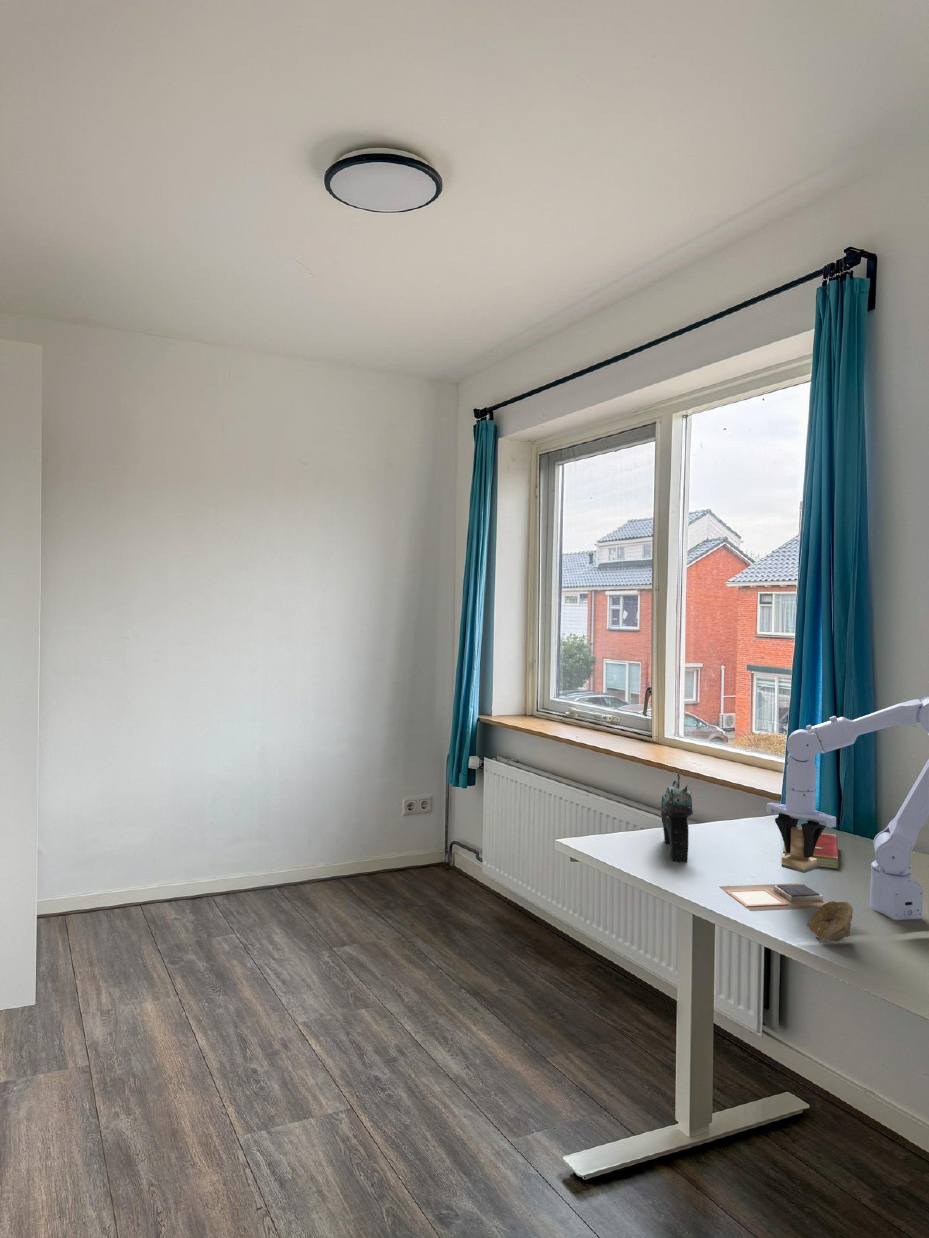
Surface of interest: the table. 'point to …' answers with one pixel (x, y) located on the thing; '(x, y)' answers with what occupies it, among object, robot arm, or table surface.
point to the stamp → (798, 854)
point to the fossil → (832, 921)
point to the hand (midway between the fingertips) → (799, 854)
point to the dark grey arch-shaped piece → (676, 820)
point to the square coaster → (756, 897)
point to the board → (771, 888)
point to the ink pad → (798, 893)
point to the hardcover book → (825, 851)
